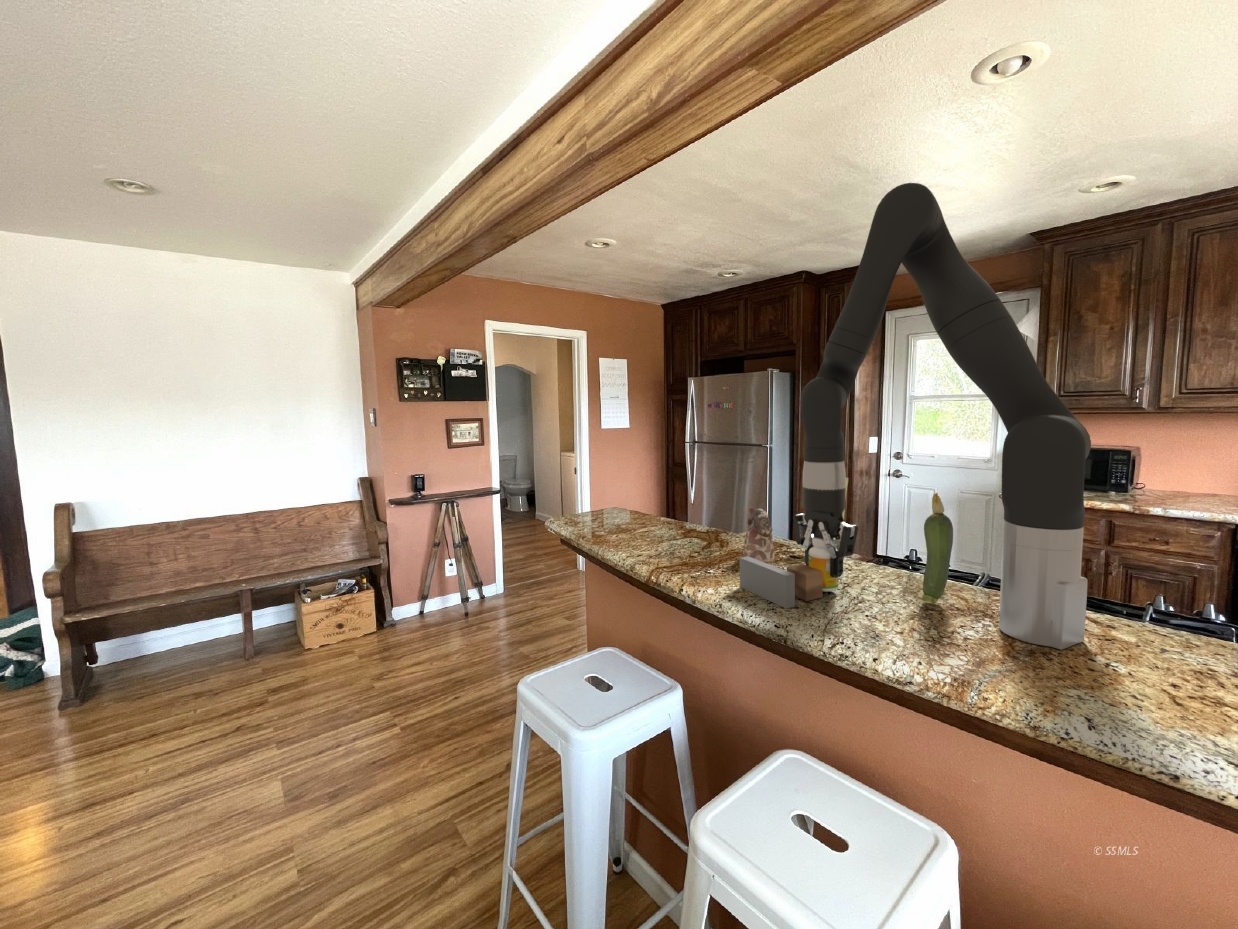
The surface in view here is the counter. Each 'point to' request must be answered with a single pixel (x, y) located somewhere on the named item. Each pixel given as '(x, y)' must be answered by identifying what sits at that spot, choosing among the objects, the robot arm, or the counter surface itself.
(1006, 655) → the counter surface
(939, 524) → the vegetable
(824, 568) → the supplement bottle
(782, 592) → the board
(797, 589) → the needle block
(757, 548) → the figurine
